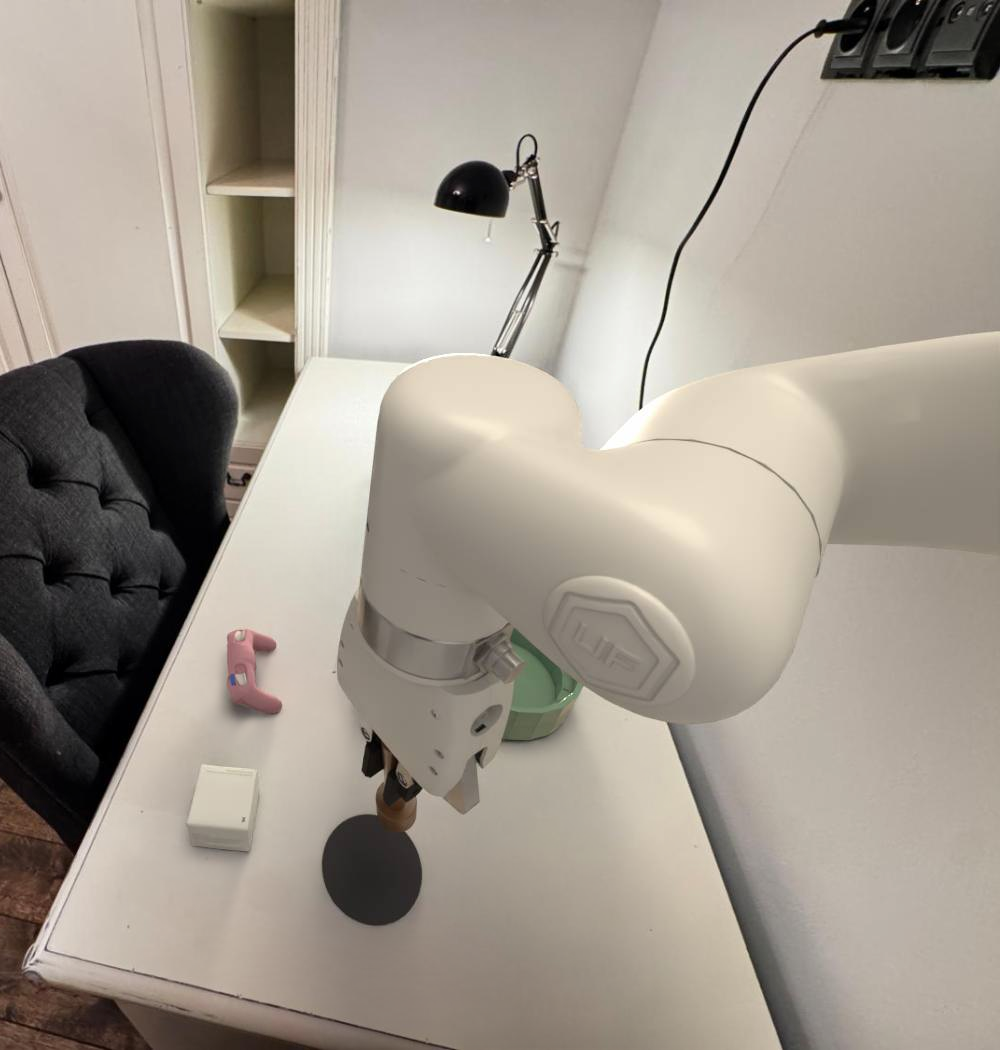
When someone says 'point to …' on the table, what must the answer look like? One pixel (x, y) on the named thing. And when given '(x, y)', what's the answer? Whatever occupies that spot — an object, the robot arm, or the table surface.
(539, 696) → the bowl
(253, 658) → the video game controller
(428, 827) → the table surface
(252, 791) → the small box
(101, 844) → the table surface
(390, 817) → the pestle
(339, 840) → the coaster
